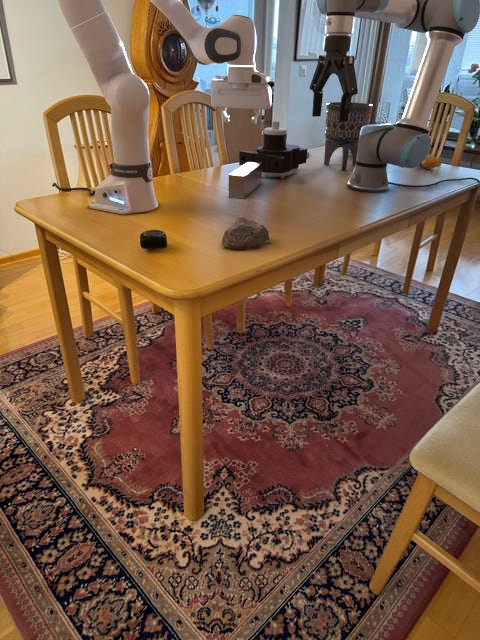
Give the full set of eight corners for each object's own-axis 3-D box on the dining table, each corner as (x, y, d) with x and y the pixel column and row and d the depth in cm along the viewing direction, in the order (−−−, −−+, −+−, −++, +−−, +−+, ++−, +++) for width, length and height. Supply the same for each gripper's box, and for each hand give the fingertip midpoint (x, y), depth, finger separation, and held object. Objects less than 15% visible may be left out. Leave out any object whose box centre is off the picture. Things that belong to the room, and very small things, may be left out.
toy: (415, 162, 205) (409, 155, 218) (417, 175, 208) (411, 168, 221) (441, 154, 202) (433, 147, 215) (443, 168, 205) (435, 160, 218)
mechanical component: (240, 120, 182) (283, 115, 202) (239, 174, 192) (280, 164, 212) (283, 126, 170) (325, 120, 190) (280, 183, 180) (320, 171, 200)
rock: (255, 233, 128) (256, 211, 124) (276, 242, 122) (278, 219, 119) (217, 244, 120) (217, 220, 117) (239, 254, 115) (239, 230, 111)
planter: (313, 167, 208) (319, 103, 195) (331, 160, 222) (338, 101, 209) (353, 173, 199) (362, 107, 185) (369, 166, 213) (379, 104, 199)
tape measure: (140, 252, 115) (139, 238, 113) (141, 242, 120) (140, 229, 119) (167, 251, 116) (166, 237, 114) (167, 241, 121) (166, 228, 120)
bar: (247, 181, 182) (248, 161, 178) (261, 183, 181) (262, 162, 177) (228, 197, 162) (228, 174, 158) (243, 198, 161) (244, 176, 157)
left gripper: (207, 75, 145) (208, 122, 152) (269, 77, 140) (267, 126, 147) (214, 75, 150) (214, 120, 157) (274, 77, 145) (271, 123, 152)
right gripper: (302, 35, 133) (296, 114, 144) (356, 33, 114) (344, 124, 124) (323, 36, 136) (316, 114, 147) (379, 34, 117) (366, 123, 127)
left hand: (240, 123), depth 152 cm, fingers open, 8 cm apart
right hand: (329, 119), depth 136 cm, fingers open, 13 cm apart
